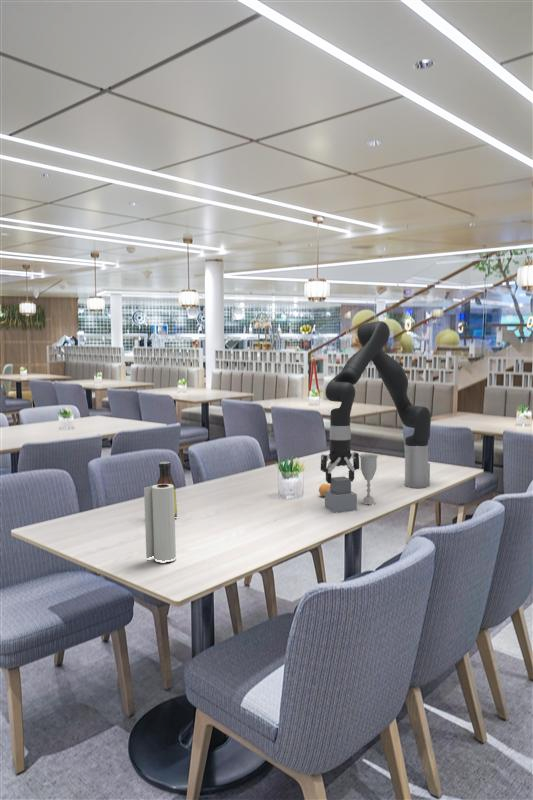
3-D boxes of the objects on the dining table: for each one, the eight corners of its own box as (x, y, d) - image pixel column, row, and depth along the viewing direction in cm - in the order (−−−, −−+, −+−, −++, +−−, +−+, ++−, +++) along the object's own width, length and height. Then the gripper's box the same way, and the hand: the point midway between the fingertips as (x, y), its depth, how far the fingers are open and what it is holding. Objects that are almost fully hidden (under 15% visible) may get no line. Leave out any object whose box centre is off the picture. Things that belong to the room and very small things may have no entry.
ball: (328, 494, 245) (328, 481, 244) (333, 497, 240) (333, 484, 240) (316, 495, 243) (316, 483, 243) (322, 498, 238) (321, 485, 238)
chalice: (377, 506, 226) (377, 457, 225) (358, 505, 228) (358, 457, 226) (378, 501, 234) (378, 454, 232) (359, 500, 235) (359, 453, 233)
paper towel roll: (180, 558, 175) (177, 483, 173) (168, 565, 170) (166, 488, 168) (158, 555, 178) (156, 481, 176) (146, 562, 172) (143, 486, 170)
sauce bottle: (180, 517, 216) (178, 461, 214) (172, 522, 210) (170, 464, 208) (163, 515, 218) (161, 460, 216) (154, 520, 212) (153, 463, 210)
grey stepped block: (346, 504, 229) (346, 475, 228) (356, 510, 221) (356, 480, 220) (324, 506, 227) (324, 477, 226) (334, 512, 219) (334, 482, 217)
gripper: (353, 435, 227) (353, 478, 229) (317, 437, 223) (317, 481, 224) (362, 438, 220) (362, 482, 222) (326, 440, 216) (326, 486, 217)
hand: (340, 482), depth 223 cm, fingers open, 8 cm apart
